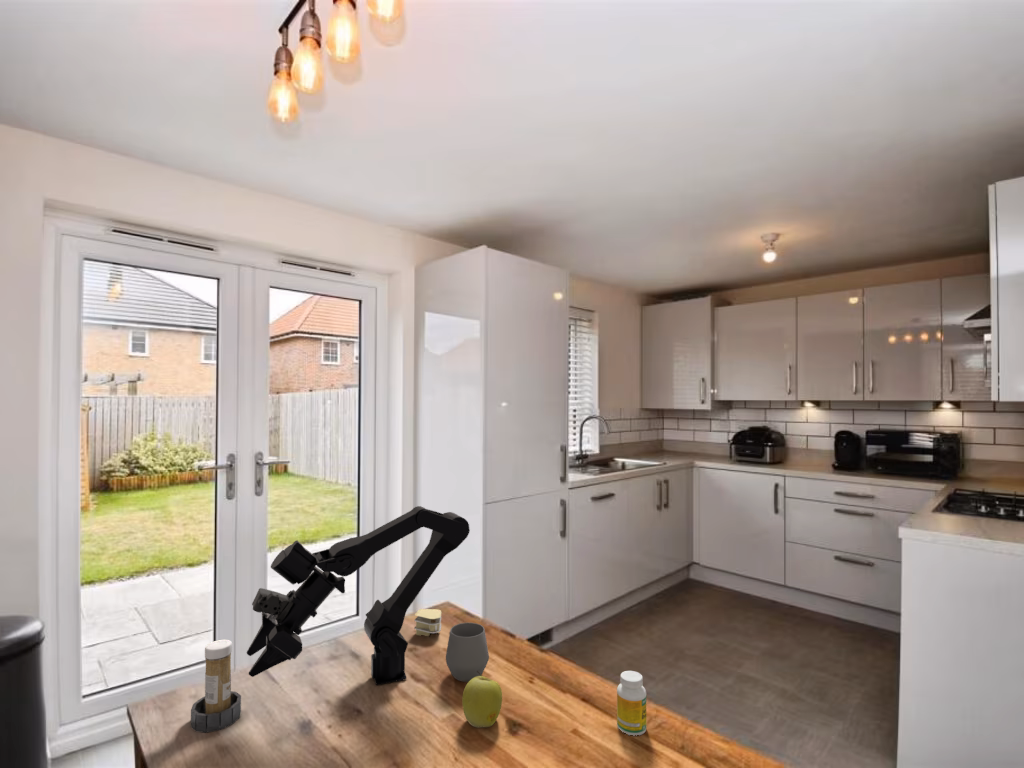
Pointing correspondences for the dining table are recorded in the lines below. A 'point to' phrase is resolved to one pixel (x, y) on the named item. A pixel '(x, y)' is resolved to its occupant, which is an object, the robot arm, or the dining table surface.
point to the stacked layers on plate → (428, 621)
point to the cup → (467, 651)
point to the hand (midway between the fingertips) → (249, 664)
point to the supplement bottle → (631, 704)
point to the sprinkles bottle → (218, 676)
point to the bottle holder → (215, 715)
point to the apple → (482, 701)
